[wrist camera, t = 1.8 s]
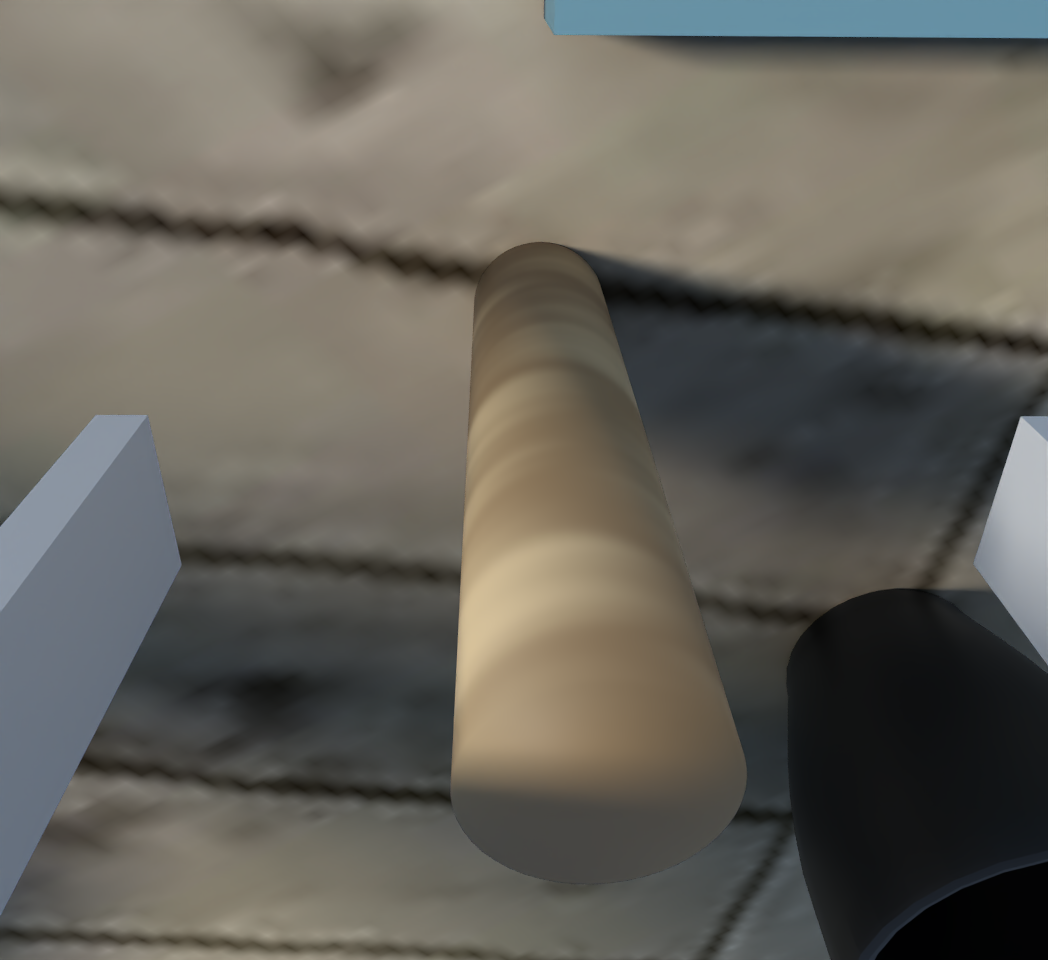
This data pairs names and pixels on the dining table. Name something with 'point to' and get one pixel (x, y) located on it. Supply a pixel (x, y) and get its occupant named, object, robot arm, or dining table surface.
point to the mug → (919, 783)
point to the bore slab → (801, 18)
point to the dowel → (576, 604)
